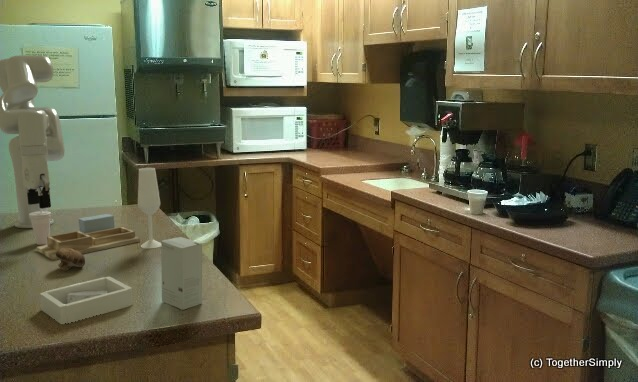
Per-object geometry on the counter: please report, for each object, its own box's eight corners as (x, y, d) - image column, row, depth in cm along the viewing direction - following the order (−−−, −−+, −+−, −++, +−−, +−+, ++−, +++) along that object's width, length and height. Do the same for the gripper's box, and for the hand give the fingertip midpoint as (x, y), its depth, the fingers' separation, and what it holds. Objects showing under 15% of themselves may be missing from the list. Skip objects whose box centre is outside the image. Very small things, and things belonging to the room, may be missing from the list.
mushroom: (50, 264, 161) (61, 242, 163) (49, 267, 168) (59, 246, 170) (79, 275, 164) (90, 253, 166) (77, 278, 171) (87, 257, 173)
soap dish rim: (40, 309, 139) (39, 292, 138) (109, 291, 150) (108, 275, 149) (62, 325, 130) (60, 307, 129) (133, 305, 141) (132, 288, 140)
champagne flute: (151, 241, 194) (146, 166, 190) (167, 244, 191) (163, 168, 186) (135, 246, 188) (130, 169, 184) (152, 249, 185) (147, 171, 181)
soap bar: (108, 316, 144) (114, 292, 145) (106, 318, 138) (113, 293, 139) (64, 307, 141) (71, 283, 142) (61, 310, 135) (68, 284, 136)
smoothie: (45, 246, 189) (41, 202, 187) (27, 245, 191) (22, 201, 188) (58, 240, 196) (54, 197, 193) (40, 239, 197) (36, 197, 194)
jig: (36, 250, 185) (35, 237, 184) (120, 234, 203) (119, 221, 202) (53, 259, 176) (52, 245, 175) (139, 241, 194) (139, 228, 193)
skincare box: (161, 302, 143) (158, 240, 140) (182, 295, 147) (179, 235, 144) (183, 311, 137) (180, 247, 134) (205, 303, 142) (202, 241, 139)
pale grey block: (79, 236, 202) (78, 218, 200) (109, 230, 208) (107, 213, 207) (85, 238, 198) (84, 220, 197) (114, 233, 205) (113, 215, 204)
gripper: (11, 150, 191) (17, 204, 194) (31, 153, 179) (37, 211, 181) (36, 148, 196) (41, 201, 199) (57, 151, 184) (62, 207, 187)
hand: (39, 205), depth 190 cm, fingers open, 9 cm apart
